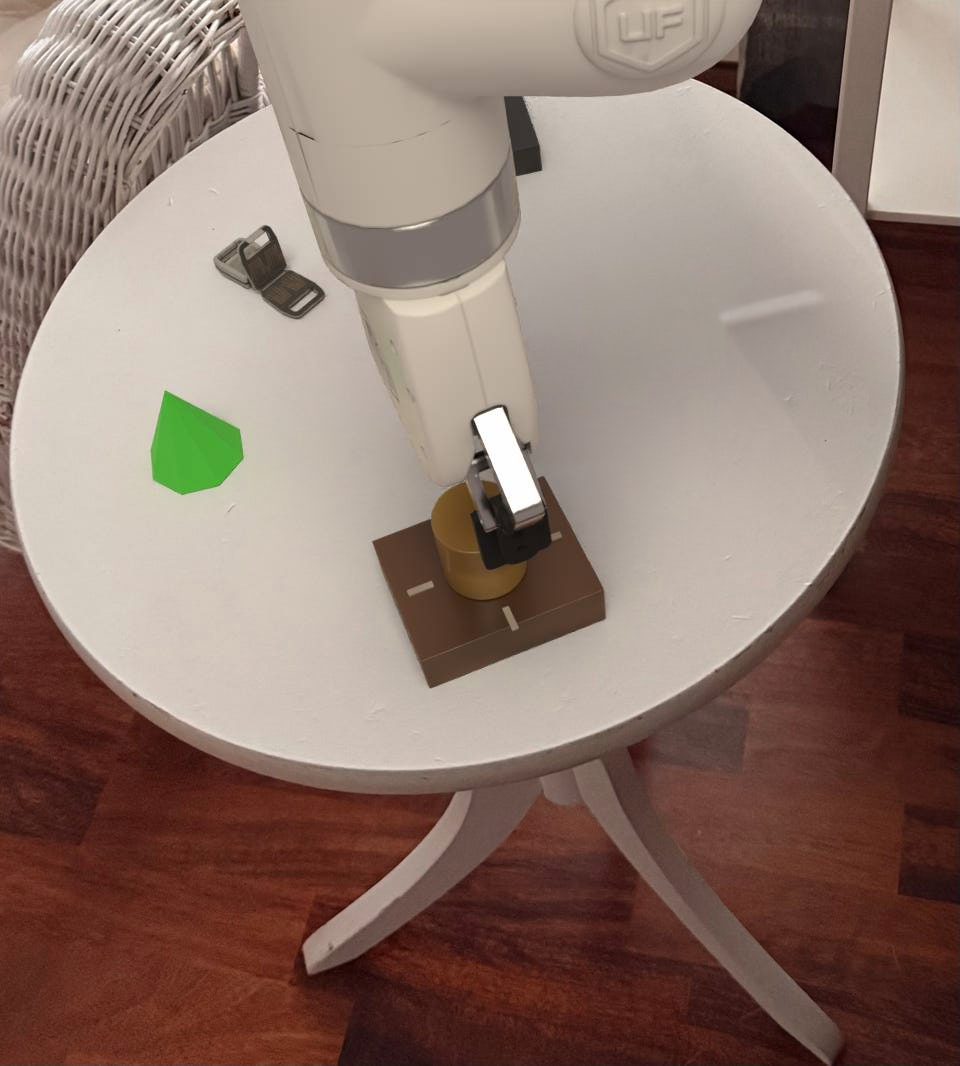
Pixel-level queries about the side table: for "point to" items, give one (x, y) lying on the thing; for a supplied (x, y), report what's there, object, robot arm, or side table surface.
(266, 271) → the strap clip
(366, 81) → the robot arm
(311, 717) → the side table surface
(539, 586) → the panel
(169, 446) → the gemstone
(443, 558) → the knob
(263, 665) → the side table surface
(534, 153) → the button box
